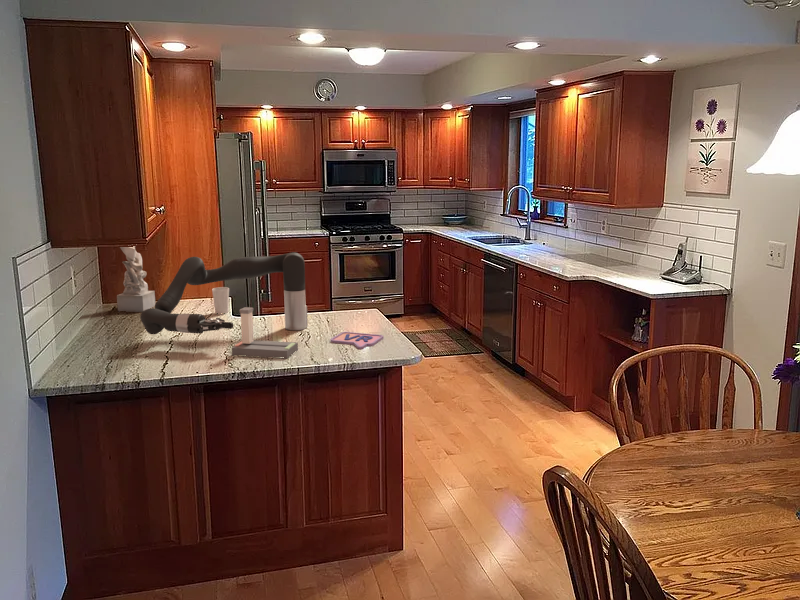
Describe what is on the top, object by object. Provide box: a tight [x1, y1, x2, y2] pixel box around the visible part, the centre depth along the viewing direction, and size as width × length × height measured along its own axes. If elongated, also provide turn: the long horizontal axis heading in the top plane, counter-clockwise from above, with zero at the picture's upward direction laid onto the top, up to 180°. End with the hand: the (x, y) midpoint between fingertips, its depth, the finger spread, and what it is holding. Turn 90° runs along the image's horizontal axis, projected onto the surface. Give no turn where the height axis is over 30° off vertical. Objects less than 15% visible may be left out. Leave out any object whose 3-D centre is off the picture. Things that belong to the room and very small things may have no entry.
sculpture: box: [116, 246, 156, 313], centre depth 330 cm, size 13×13×35 cm
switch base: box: [231, 339, 299, 359], centre depth 257 cm, size 12×22×3 cm, turn 79°
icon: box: [329, 331, 384, 350], centre depth 273 cm, size 19×2×20 cm
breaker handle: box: [239, 306, 255, 344], centre depth 256 cm, size 5×4×13 cm
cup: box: [211, 286, 230, 315], centre depth 323 cm, size 8×8×12 cm
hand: (232, 325), depth 257 cm, fingers closed
